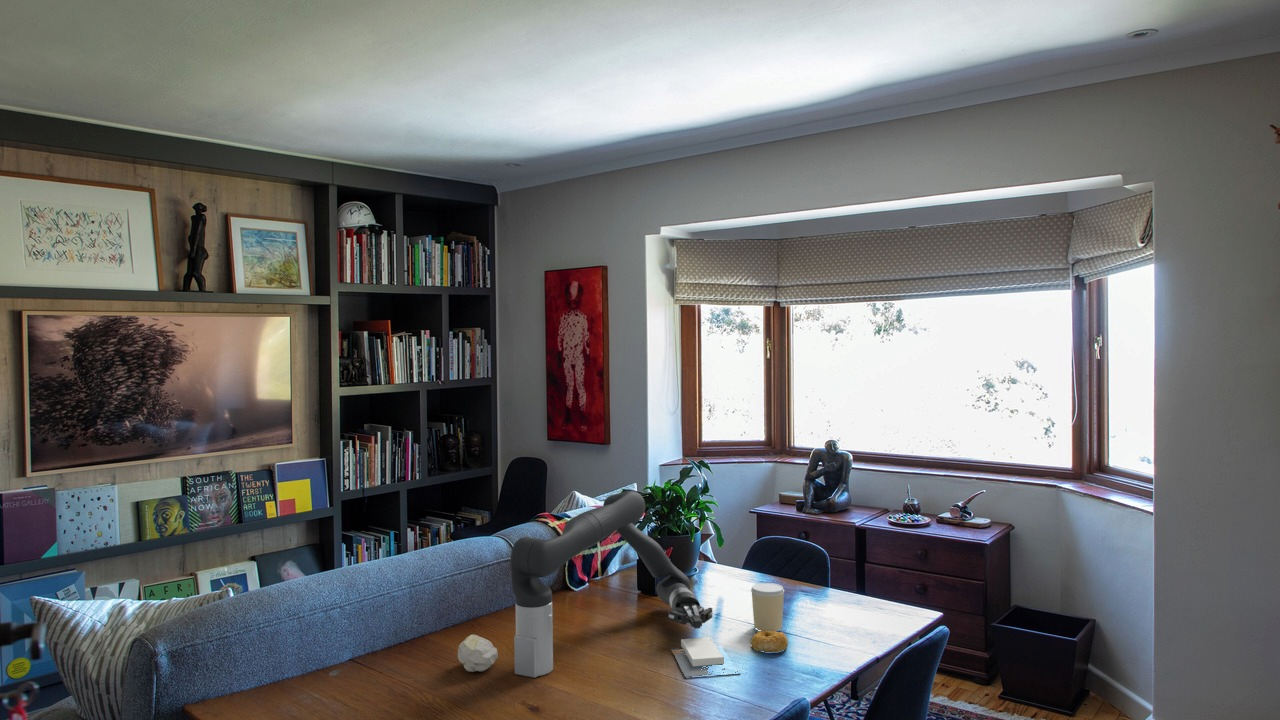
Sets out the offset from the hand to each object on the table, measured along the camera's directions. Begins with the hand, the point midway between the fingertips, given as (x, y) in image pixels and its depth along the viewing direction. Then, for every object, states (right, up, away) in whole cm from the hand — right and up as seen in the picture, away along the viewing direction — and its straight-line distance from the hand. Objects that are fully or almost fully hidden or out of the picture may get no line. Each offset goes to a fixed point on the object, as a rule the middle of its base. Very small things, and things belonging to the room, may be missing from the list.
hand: (697, 624), depth 215 cm
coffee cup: (+21, -7, +16) cm, 28 cm away
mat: (+1, -7, -7) cm, 10 cm away
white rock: (-57, -8, -9) cm, 58 cm away
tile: (0, -5, +2) cm, 6 cm away
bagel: (+19, -7, +2) cm, 21 cm away
